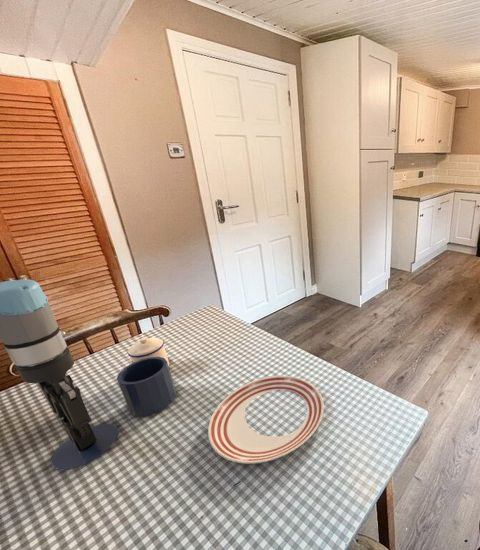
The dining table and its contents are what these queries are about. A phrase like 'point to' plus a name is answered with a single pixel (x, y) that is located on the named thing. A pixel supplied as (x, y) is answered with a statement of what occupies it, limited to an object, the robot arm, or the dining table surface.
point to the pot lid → (74, 456)
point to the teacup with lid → (147, 349)
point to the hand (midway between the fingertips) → (84, 440)
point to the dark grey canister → (147, 386)
